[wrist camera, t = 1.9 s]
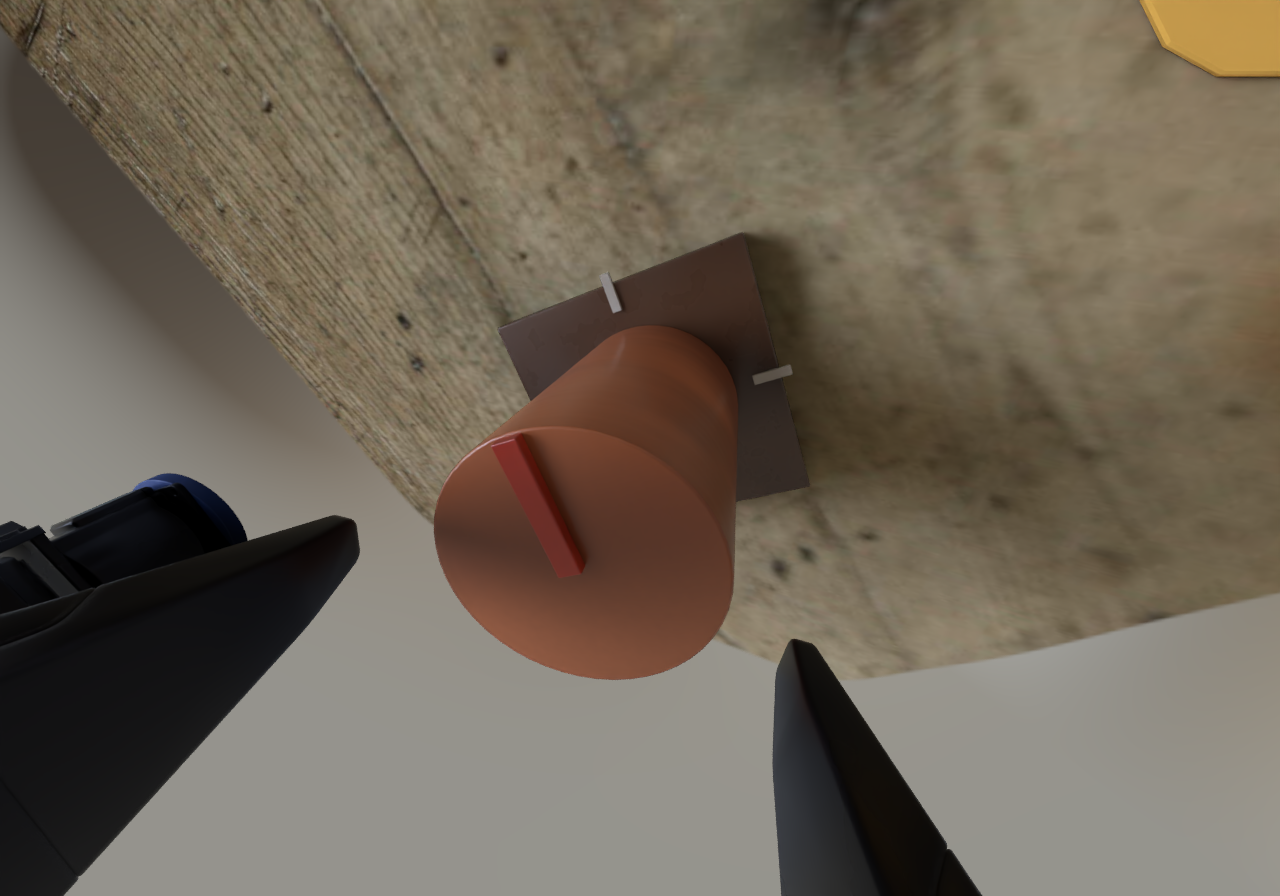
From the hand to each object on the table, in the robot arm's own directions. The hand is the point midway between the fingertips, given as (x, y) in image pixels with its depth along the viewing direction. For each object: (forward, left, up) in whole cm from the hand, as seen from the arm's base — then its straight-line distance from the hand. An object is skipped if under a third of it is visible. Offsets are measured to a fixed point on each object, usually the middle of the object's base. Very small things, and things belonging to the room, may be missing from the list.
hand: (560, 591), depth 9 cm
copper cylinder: (0, 0, -11) cm, 11 cm away
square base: (0, 0, -13) cm, 13 cm away
